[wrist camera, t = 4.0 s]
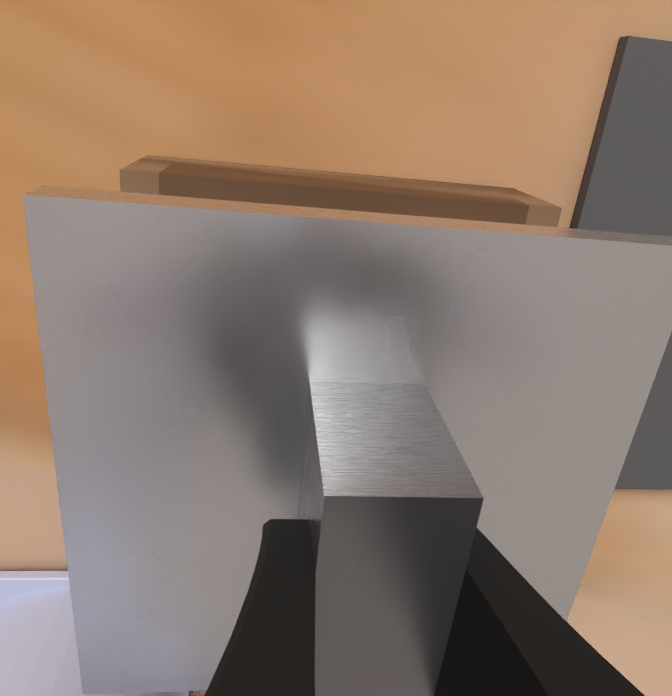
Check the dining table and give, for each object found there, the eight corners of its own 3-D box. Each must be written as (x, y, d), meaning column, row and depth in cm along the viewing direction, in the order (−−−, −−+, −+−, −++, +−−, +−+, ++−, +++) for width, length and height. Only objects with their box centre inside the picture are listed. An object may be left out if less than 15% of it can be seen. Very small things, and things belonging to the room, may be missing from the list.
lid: (518, 622, 15) (613, 828, 11) (102, 629, 14) (27, 870, 9) (643, 226, 11) (879, 314, 7) (60, 178, 9) (-107, 251, 5)
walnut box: (449, 478, 20) (478, 538, 17) (157, 473, 19) (138, 537, 16) (513, 188, 16) (561, 208, 13) (147, 155, 15) (119, 169, 12)
